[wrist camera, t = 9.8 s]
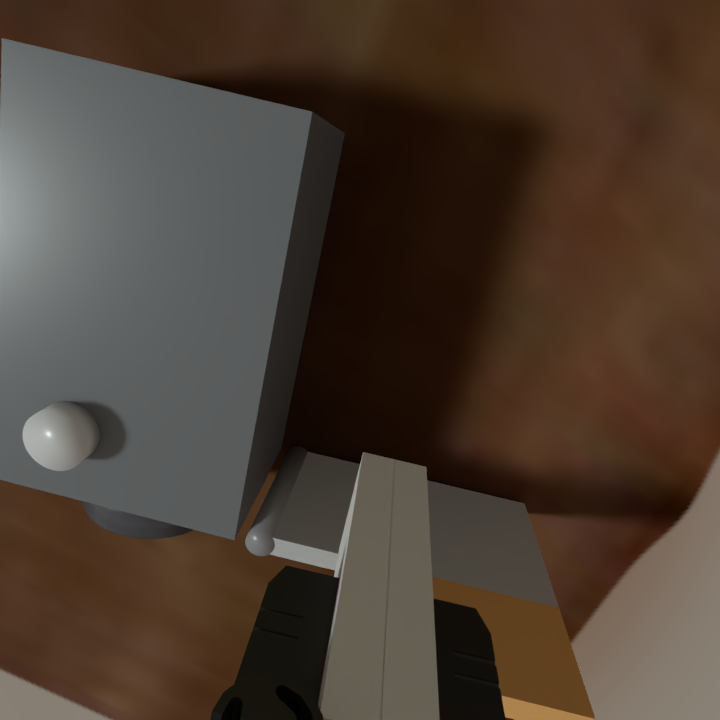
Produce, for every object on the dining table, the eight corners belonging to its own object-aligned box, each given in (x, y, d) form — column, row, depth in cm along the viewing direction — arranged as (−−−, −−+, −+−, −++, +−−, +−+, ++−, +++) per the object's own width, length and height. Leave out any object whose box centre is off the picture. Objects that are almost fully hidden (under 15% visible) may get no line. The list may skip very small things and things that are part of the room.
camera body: (128, 81, 25) (-23, 29, 17) (345, 133, 25) (306, 107, 16) (98, 436, 31) (-25, 534, 22) (274, 481, 31) (218, 597, 22)
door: (525, 500, 29) (597, 714, 17) (518, 519, 29) (584, 741, 18) (289, 443, 29) (203, 616, 18) (285, 463, 30) (199, 645, 18)
